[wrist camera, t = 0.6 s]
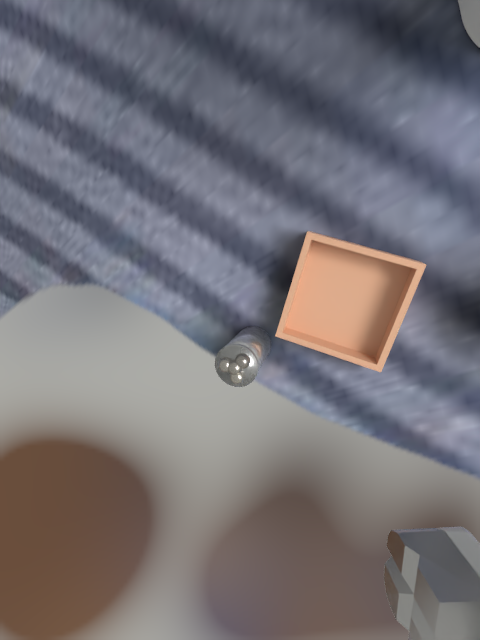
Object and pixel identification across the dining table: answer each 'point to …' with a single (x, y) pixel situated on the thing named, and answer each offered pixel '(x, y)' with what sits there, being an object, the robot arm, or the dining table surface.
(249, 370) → the silver metal cylinder
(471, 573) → the robot arm
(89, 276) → the dining table surface
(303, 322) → the terracotta bin
